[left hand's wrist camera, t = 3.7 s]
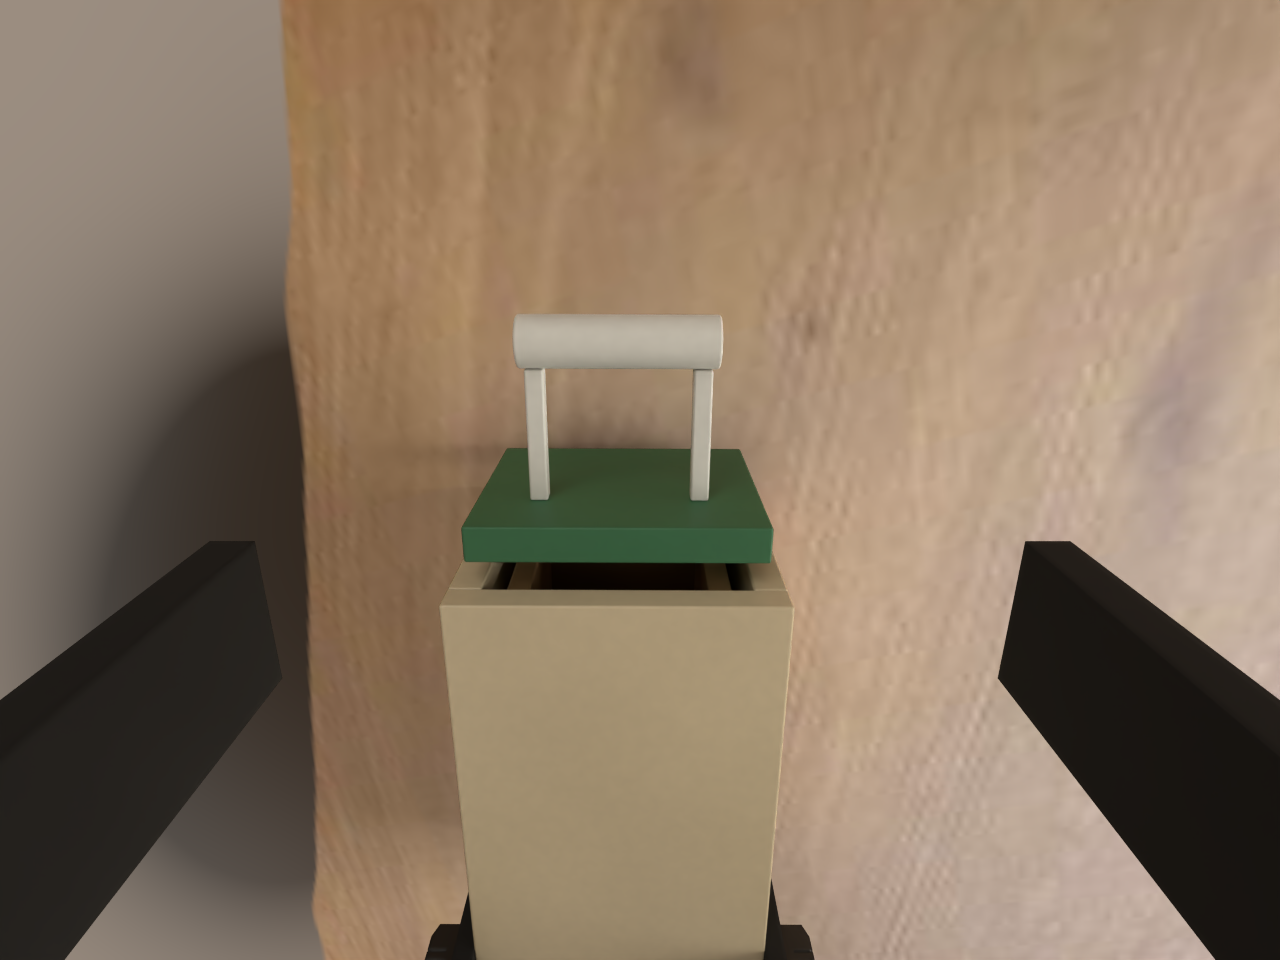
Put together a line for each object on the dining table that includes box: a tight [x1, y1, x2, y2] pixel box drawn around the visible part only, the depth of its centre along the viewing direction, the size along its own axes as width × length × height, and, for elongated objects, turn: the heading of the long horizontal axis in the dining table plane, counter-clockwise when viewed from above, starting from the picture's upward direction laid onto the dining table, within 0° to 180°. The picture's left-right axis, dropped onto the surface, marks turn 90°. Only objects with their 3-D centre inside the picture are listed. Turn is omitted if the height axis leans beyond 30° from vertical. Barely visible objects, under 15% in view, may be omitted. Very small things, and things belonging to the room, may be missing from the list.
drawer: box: [461, 314, 773, 591], centre depth 28 cm, size 24×10×8 cm, turn 0°
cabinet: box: [439, 552, 795, 960], centre depth 30 cm, size 19×11×10 cm, turn 0°
